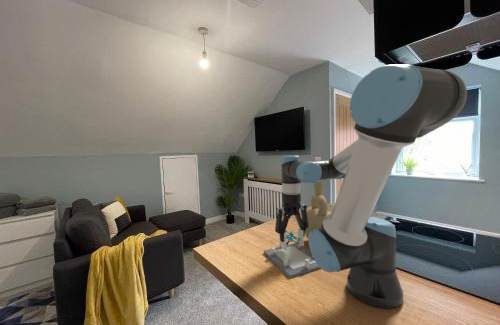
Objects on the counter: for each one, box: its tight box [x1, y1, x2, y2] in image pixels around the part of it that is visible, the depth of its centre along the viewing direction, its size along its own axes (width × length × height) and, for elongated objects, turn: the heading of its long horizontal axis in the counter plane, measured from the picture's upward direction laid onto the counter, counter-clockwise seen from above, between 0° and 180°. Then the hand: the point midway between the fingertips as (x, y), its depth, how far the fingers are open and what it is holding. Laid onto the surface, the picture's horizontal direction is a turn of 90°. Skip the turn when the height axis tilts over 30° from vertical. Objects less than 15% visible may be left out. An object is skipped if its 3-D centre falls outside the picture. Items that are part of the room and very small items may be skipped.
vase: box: [305, 181, 332, 239], centre depth 100 cm, size 17×17×30 cm
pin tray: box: [263, 240, 322, 279], centre depth 87 cm, size 21×17×4 cm
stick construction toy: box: [285, 229, 300, 245], centre depth 89 cm, size 12×7×8 cm
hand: (292, 246), depth 87 cm, fingers closed on stick construction toy, 8 cm apart
